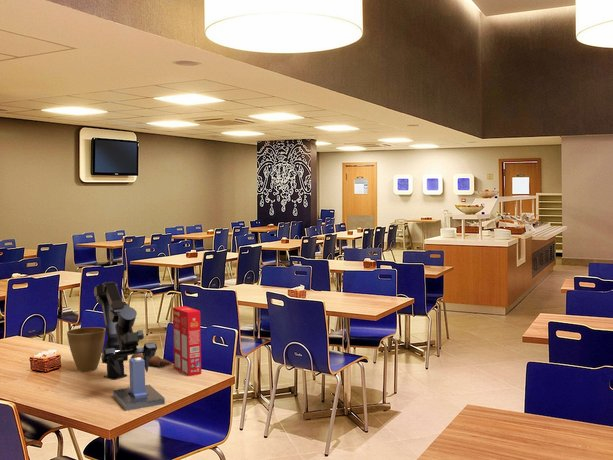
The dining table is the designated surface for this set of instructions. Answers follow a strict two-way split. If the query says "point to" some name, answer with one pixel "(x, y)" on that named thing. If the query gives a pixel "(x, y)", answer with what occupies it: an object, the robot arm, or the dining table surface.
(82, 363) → the plant pot
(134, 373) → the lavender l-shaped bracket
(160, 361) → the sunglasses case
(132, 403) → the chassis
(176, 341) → the food packaging
